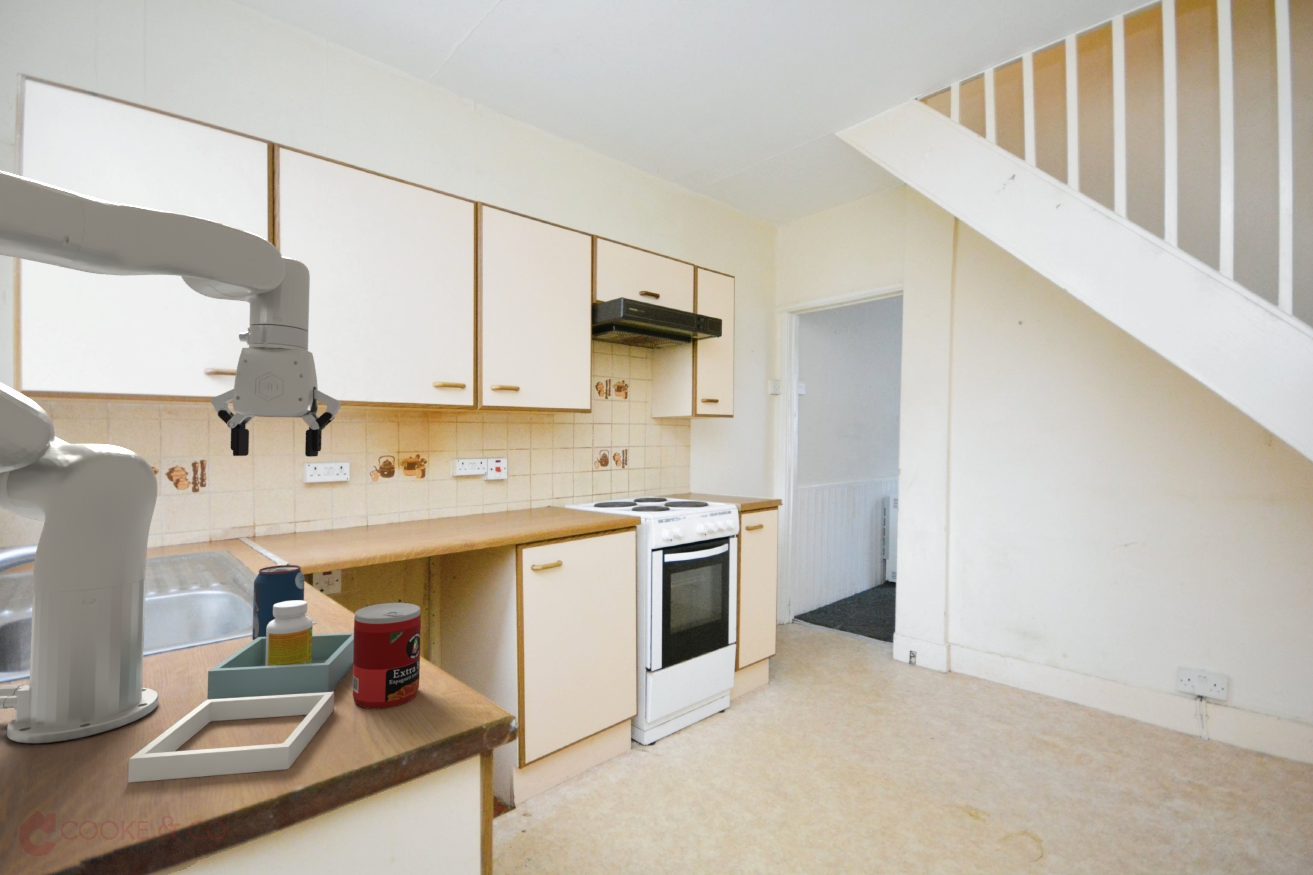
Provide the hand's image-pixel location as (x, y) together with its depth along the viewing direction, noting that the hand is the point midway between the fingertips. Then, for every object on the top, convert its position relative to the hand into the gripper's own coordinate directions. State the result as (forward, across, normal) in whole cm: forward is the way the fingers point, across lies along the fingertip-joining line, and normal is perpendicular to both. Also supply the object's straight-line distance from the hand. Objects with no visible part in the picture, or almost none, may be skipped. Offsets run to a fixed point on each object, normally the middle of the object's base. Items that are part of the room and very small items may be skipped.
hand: (276, 456), depth 89 cm
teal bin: (+30, +6, -9) cm, 32 cm away
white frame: (+30, +8, -27) cm, 41 cm away
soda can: (+31, -2, +8) cm, 32 cm away
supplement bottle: (+30, +6, -9) cm, 32 cm away
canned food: (+31, +20, -16) cm, 40 cm away
